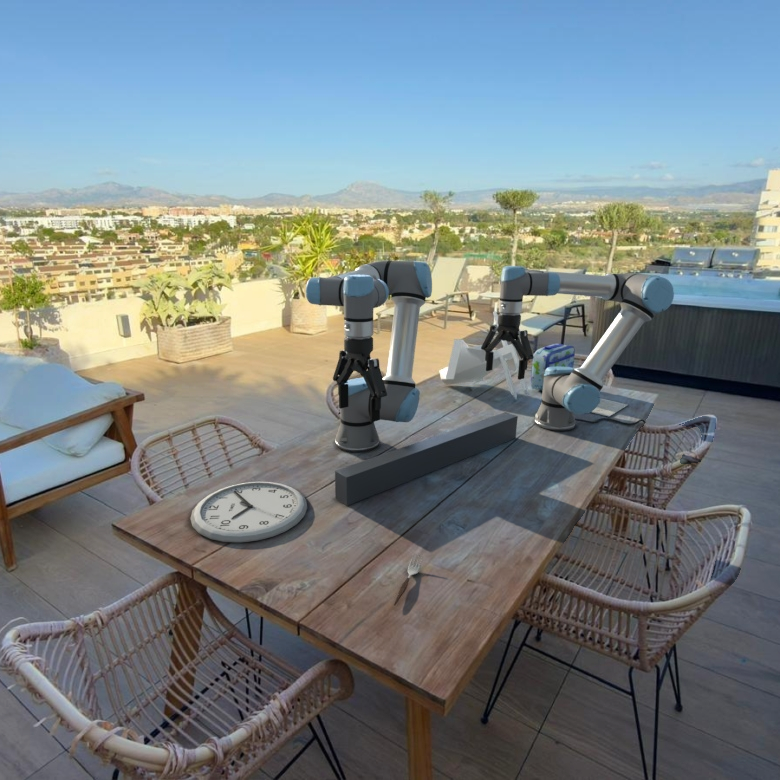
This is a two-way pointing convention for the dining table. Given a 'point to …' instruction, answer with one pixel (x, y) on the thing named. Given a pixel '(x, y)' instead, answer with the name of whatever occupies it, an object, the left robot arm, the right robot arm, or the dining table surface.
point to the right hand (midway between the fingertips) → (504, 374)
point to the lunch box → (550, 361)
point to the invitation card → (608, 407)
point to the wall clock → (248, 512)
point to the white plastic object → (479, 364)
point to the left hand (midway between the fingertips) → (358, 414)
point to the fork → (412, 571)
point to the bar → (421, 458)
